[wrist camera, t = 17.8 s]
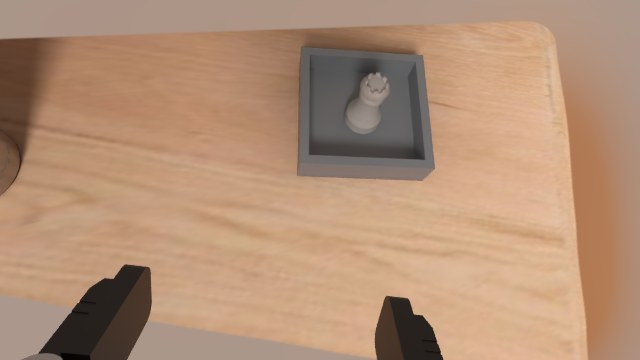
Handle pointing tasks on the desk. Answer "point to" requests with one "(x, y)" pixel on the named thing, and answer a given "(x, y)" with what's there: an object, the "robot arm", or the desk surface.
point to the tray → (354, 148)
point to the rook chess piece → (367, 104)
